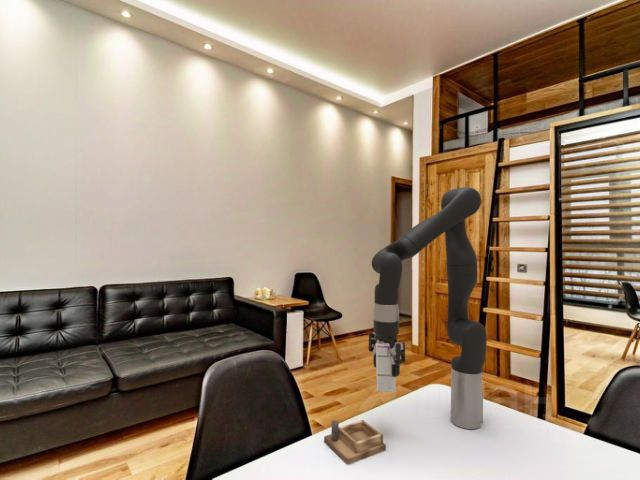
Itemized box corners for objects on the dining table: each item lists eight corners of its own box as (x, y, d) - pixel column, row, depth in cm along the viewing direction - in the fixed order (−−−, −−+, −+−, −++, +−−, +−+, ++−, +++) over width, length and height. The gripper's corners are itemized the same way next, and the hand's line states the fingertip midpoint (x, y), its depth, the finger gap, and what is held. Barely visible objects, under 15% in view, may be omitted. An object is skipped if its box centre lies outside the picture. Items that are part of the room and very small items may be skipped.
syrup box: (395, 393, 106) (396, 344, 106) (375, 391, 108) (375, 342, 107) (395, 385, 112) (396, 338, 112) (376, 383, 113) (376, 337, 113)
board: (360, 429, 112) (360, 408, 111) (386, 450, 101) (386, 427, 101) (324, 441, 105) (324, 419, 105) (347, 464, 95) (348, 440, 95)
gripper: (412, 321, 105) (412, 377, 106) (380, 312, 117) (380, 361, 118) (392, 324, 101) (392, 382, 102) (361, 314, 114) (361, 366, 114)
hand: (385, 371), depth 110 cm, fingers closed on syrup box, 8 cm apart
